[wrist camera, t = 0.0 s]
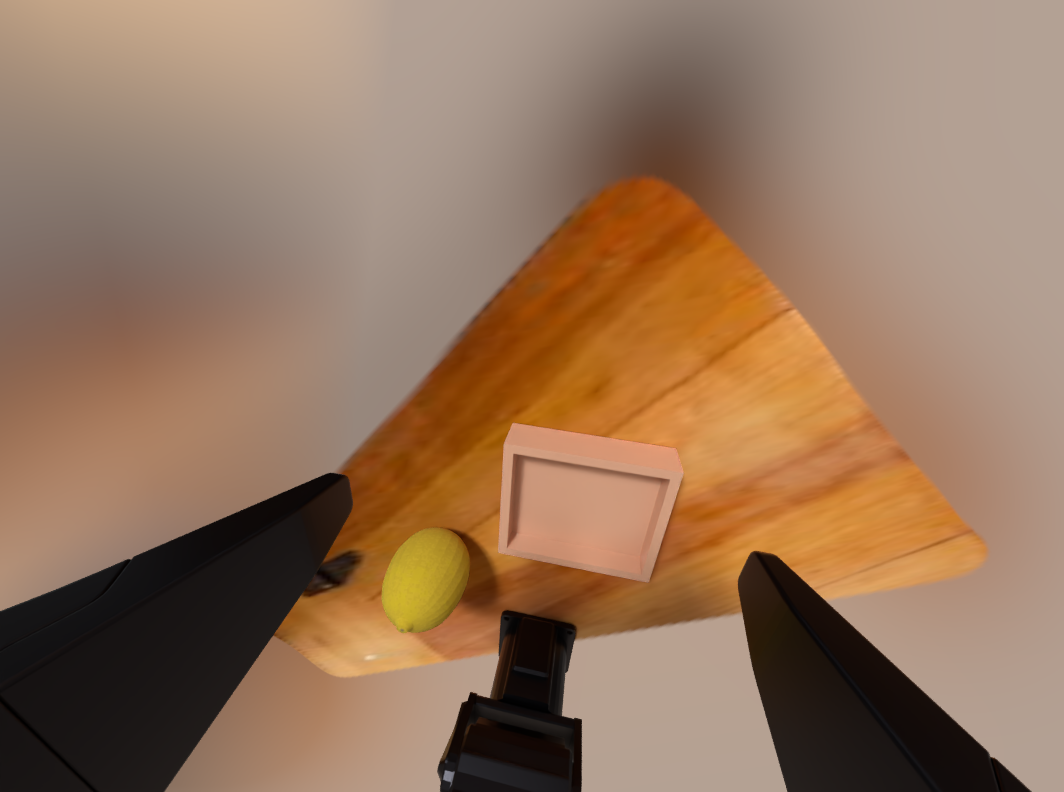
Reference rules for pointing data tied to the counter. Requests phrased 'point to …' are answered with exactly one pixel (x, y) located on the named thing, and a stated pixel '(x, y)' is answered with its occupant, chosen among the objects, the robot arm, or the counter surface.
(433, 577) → the lemon
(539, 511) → the dish
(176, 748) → the robot arm
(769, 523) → the counter surface
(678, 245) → the counter surface
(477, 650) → the counter surface
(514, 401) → the counter surface
